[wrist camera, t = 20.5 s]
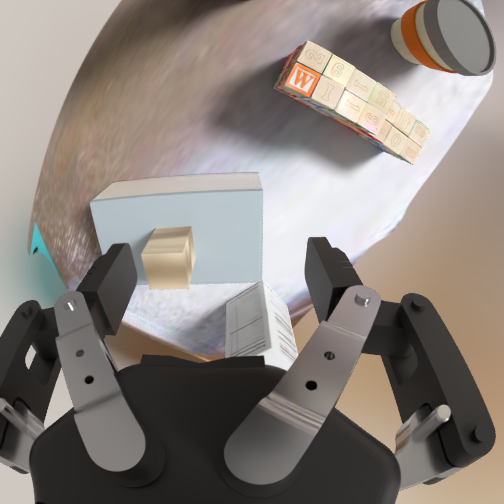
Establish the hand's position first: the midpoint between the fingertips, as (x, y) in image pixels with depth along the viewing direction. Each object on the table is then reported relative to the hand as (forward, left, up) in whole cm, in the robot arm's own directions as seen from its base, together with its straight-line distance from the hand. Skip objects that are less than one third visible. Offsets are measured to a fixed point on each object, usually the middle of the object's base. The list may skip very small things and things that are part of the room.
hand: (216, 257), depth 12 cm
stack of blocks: (-7, +17, -32) cm, 37 cm away
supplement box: (+32, +4, -32) cm, 46 cm away
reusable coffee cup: (-21, +30, -32) cm, 49 cm away
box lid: (+12, -8, -24) cm, 28 cm away
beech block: (+12, -8, -23) cm, 27 cm away
